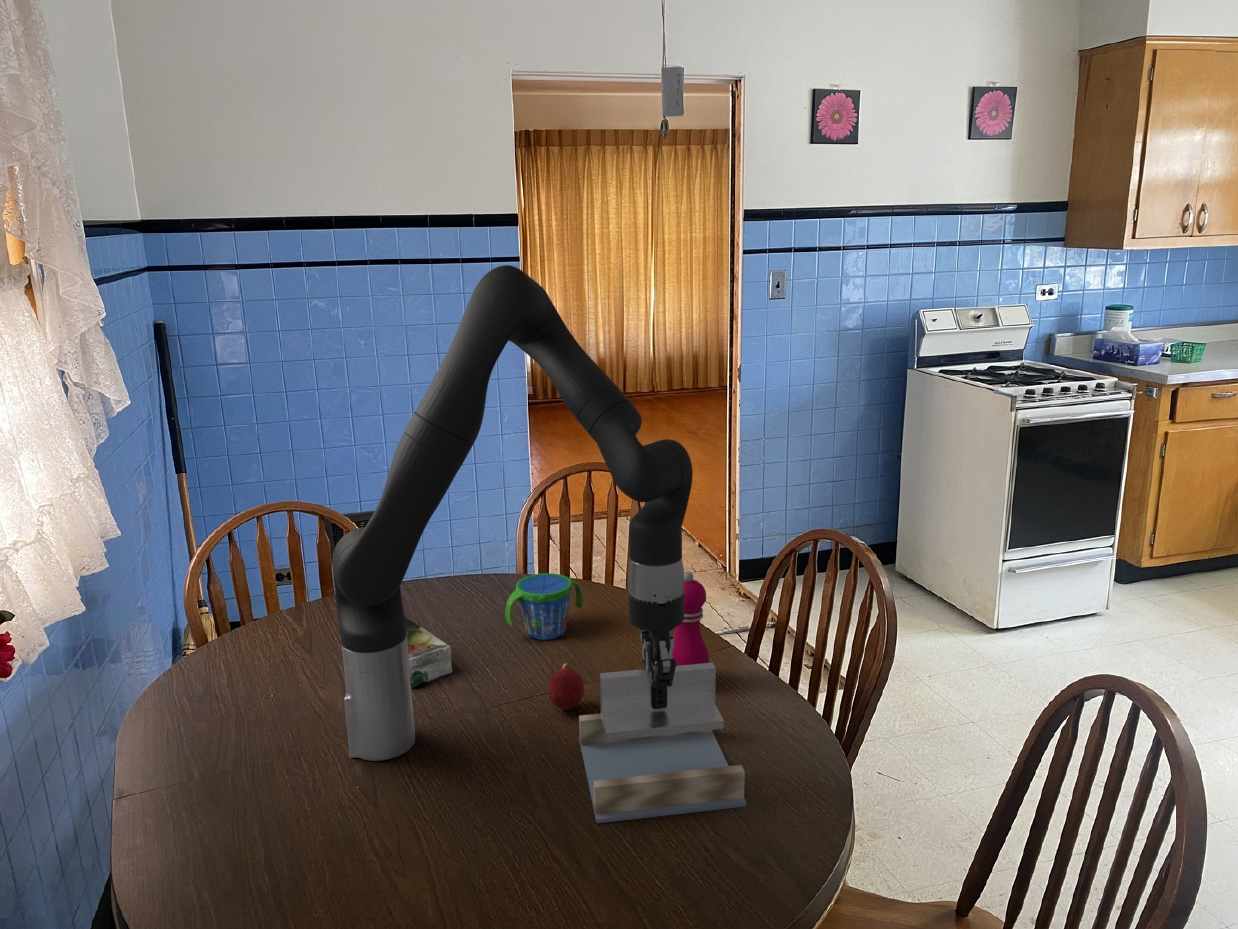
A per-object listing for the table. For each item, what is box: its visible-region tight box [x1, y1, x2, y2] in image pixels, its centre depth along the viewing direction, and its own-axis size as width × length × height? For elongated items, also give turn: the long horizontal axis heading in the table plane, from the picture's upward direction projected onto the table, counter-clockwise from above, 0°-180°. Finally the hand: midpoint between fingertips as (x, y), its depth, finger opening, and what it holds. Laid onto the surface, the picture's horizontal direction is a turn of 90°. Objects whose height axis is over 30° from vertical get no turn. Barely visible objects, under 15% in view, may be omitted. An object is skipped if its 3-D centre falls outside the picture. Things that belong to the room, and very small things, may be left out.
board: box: [578, 732, 747, 824], centre depth 127 cm, size 20×20×1 cm
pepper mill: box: [672, 571, 710, 666], centre depth 149 cm, size 7×7×20 cm
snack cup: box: [504, 572, 584, 641], centre depth 170 cm, size 16×10×10 cm
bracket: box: [599, 662, 725, 741], centre depth 123 cm, size 16×6×7 cm, turn 99°
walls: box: [578, 713, 746, 815], centre depth 127 cm, size 20×18×4 cm
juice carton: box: [405, 616, 453, 689], centre depth 160 cm, size 20×10×6 cm, turn 42°
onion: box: [547, 662, 585, 711], centre depth 143 cm, size 6×6×8 cm
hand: (657, 703), depth 125 cm, fingers closed on bracket, 1 cm apart
